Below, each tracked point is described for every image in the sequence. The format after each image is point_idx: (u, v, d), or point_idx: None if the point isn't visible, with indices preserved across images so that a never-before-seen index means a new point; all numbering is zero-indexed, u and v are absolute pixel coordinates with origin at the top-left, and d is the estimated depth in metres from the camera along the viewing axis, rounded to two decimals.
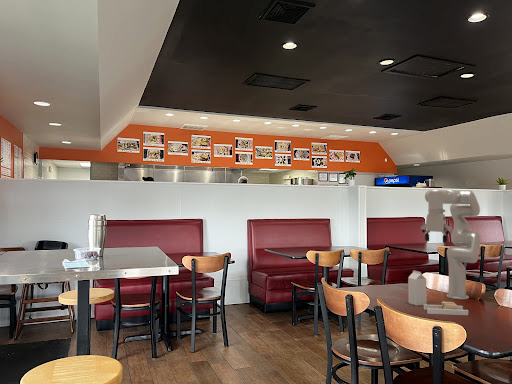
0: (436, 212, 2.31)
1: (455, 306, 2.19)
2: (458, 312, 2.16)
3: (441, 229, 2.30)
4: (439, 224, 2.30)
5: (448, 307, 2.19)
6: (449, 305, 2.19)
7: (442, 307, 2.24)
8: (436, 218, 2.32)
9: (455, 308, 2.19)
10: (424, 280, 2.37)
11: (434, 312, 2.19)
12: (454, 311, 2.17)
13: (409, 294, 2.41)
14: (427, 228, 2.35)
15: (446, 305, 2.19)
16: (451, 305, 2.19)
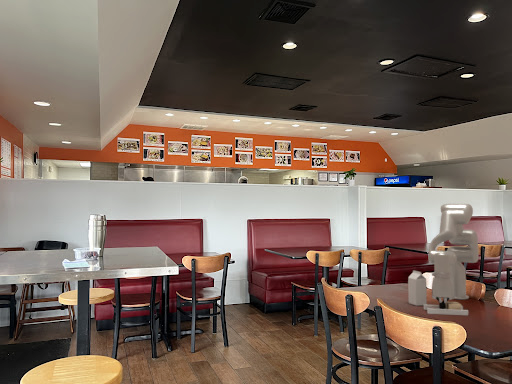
0: None
1: (459, 306, 2.18)
2: (458, 312, 2.16)
3: None
4: None
5: (452, 307, 2.19)
6: (453, 305, 2.19)
7: (446, 307, 2.24)
8: None
9: (459, 308, 2.18)
10: (424, 280, 2.37)
11: (434, 312, 2.19)
12: (454, 311, 2.17)
13: (409, 294, 2.41)
14: None
15: (450, 305, 2.19)
16: (455, 305, 2.19)
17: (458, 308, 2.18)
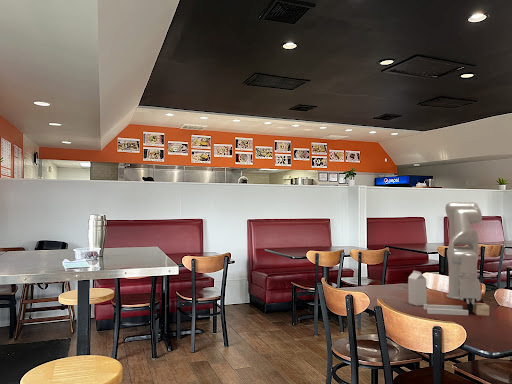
0: None
1: (487, 307, 2.16)
2: (458, 312, 2.16)
3: None
4: None
5: (480, 308, 2.16)
6: (481, 306, 2.16)
7: (474, 308, 2.21)
8: None
9: (487, 309, 2.16)
10: (424, 280, 2.37)
11: (434, 312, 2.19)
12: (454, 311, 2.17)
13: (409, 294, 2.41)
14: None
15: (478, 306, 2.16)
16: (483, 306, 2.16)
17: (486, 310, 2.16)
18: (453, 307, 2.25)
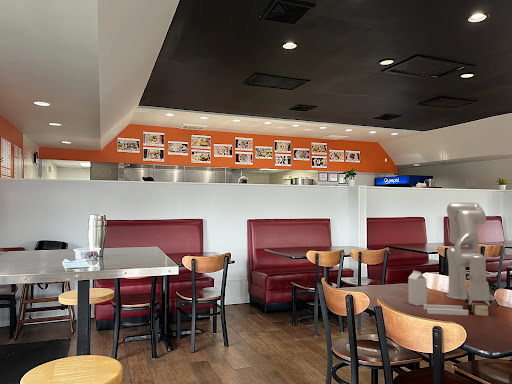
0: None
1: (486, 307, 2.16)
2: (458, 312, 2.16)
3: None
4: None
5: (479, 308, 2.16)
6: (480, 306, 2.16)
7: (472, 308, 2.21)
8: None
9: (486, 309, 2.16)
10: (424, 280, 2.37)
11: (434, 312, 2.19)
12: (454, 311, 2.17)
13: (409, 294, 2.41)
14: None
15: (477, 306, 2.16)
16: (482, 306, 2.16)
17: (485, 310, 2.16)
18: (453, 307, 2.25)
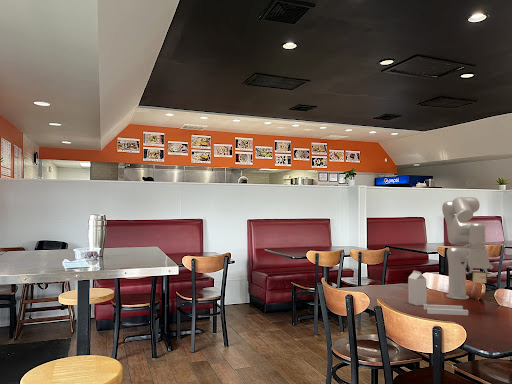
0: None
1: (484, 275, 2.16)
2: (458, 312, 2.16)
3: None
4: None
5: (477, 276, 2.17)
6: (478, 274, 2.17)
7: None
8: None
9: (484, 277, 2.16)
10: (424, 280, 2.37)
11: (434, 312, 2.19)
12: (454, 311, 2.17)
13: (409, 294, 2.41)
14: None
15: (475, 274, 2.17)
16: (480, 274, 2.17)
17: (483, 277, 2.16)
18: (453, 307, 2.25)
